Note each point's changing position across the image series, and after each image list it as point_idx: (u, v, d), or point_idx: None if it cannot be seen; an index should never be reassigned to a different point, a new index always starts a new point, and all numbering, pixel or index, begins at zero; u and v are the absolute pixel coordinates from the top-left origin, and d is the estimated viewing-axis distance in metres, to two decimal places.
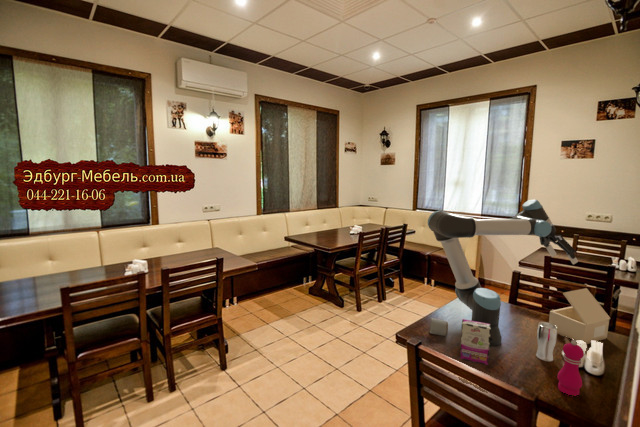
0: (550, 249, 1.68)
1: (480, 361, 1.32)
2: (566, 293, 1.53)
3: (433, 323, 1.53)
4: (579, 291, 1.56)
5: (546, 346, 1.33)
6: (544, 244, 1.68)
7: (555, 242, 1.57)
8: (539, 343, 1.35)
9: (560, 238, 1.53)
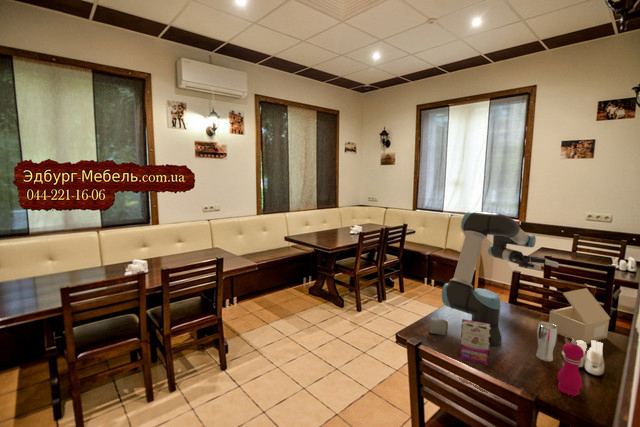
0: None
1: (480, 361, 1.32)
2: (566, 293, 1.53)
3: (433, 322, 1.54)
4: (579, 291, 1.56)
5: (546, 346, 1.33)
6: (525, 261, 1.73)
7: (530, 256, 1.81)
8: (539, 343, 1.35)
9: None
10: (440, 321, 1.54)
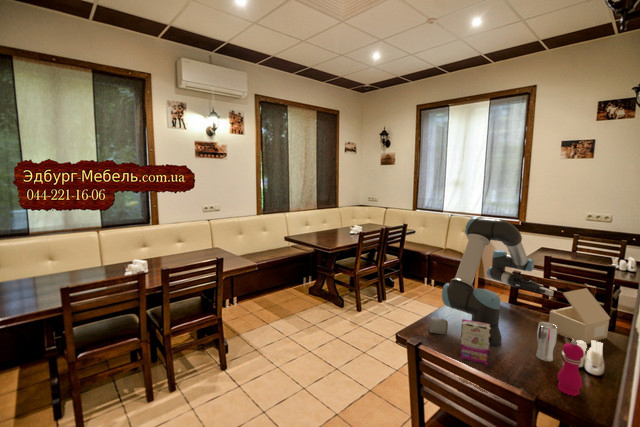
0: None
1: (480, 361, 1.32)
2: (566, 293, 1.53)
3: (433, 322, 1.55)
4: (579, 291, 1.56)
5: (546, 346, 1.33)
6: (534, 286, 1.74)
7: (529, 282, 1.81)
8: (539, 343, 1.35)
9: None
10: (440, 320, 1.55)
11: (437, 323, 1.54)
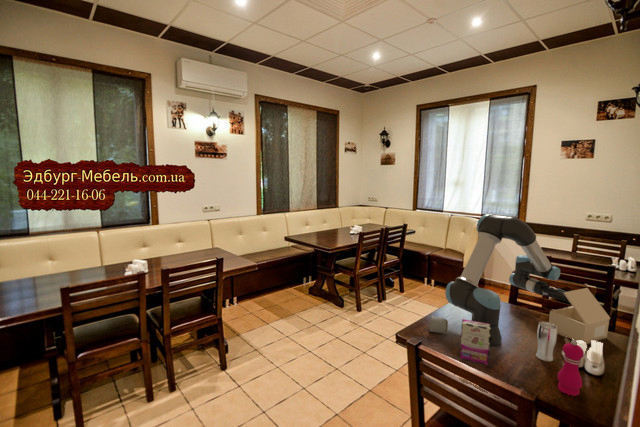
0: None
1: (480, 361, 1.32)
2: (567, 293, 1.53)
3: (433, 321, 1.55)
4: (579, 291, 1.56)
5: (546, 346, 1.33)
6: (564, 295, 1.62)
7: (557, 290, 1.68)
8: (539, 343, 1.35)
9: None
10: (440, 320, 1.56)
11: (437, 322, 1.55)
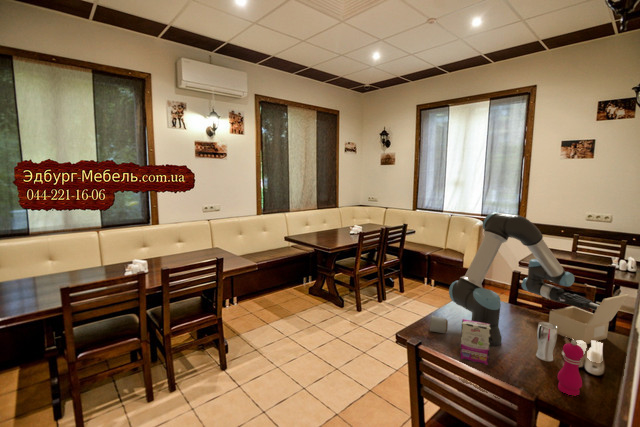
0: None
1: (480, 361, 1.32)
2: (606, 300, 1.38)
3: (433, 321, 1.56)
4: (619, 298, 1.41)
5: (547, 346, 1.33)
6: (583, 301, 1.54)
7: (574, 296, 1.60)
8: (539, 343, 1.35)
9: None
10: (440, 319, 1.56)
11: (437, 322, 1.55)
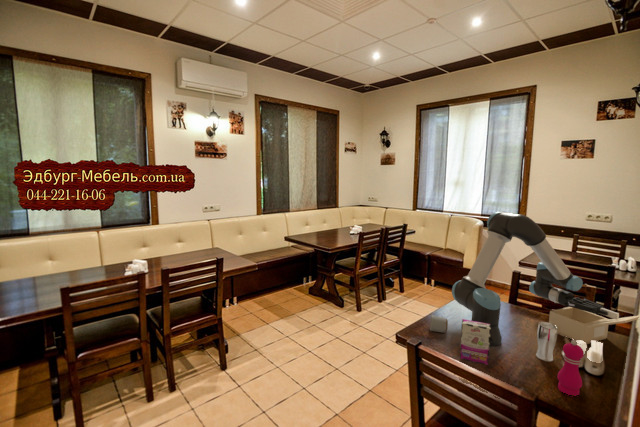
0: None
1: (480, 361, 1.32)
2: (625, 322, 1.32)
3: (433, 320, 1.56)
4: None
5: (546, 346, 1.33)
6: (593, 306, 1.48)
7: (584, 300, 1.54)
8: (539, 343, 1.35)
9: None
10: (440, 319, 1.57)
11: (437, 321, 1.56)
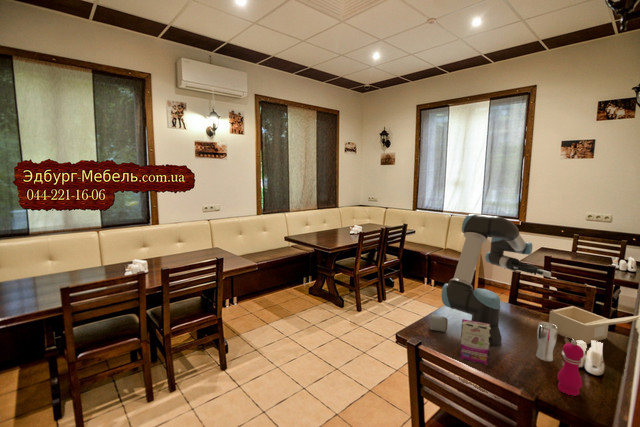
0: None
1: (480, 361, 1.32)
2: (625, 322, 1.32)
3: (433, 319, 1.57)
4: None
5: (546, 346, 1.33)
6: (532, 268, 1.75)
7: (527, 264, 1.82)
8: (539, 343, 1.35)
9: None
10: (440, 318, 1.57)
11: (437, 320, 1.57)
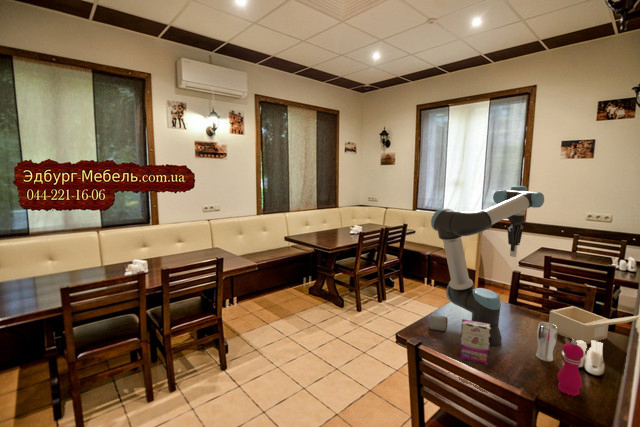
0: None
1: (480, 361, 1.32)
2: (625, 322, 1.32)
3: (433, 319, 1.58)
4: None
5: (546, 346, 1.33)
6: None
7: None
8: (539, 343, 1.35)
9: (509, 230, 1.67)
10: (440, 317, 1.58)
11: (437, 320, 1.57)
